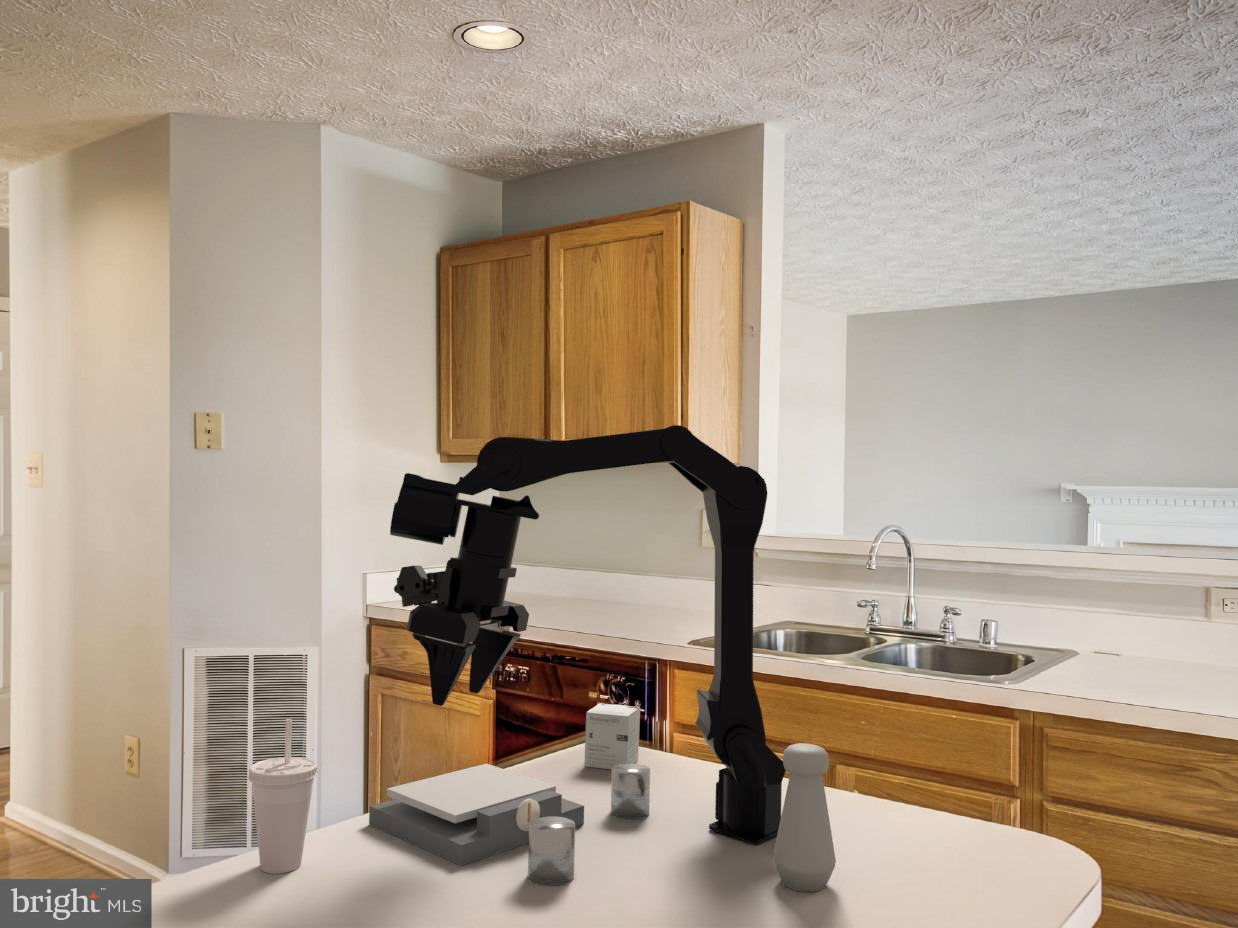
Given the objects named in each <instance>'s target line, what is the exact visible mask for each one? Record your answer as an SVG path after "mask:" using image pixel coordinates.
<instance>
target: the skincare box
mask: <svg viewBox="0 0 1238 928" xmlns="http://www.w3.org/2000/svg"><path fill="white" fill-rule="evenodd" d="M585 716H586V717H585V739H584V740H585V742H584V743H585V744H584V764H583V765H584V767H587V768H597V769H603V770H612V767H614V766H616V765H619V764H636V762H637V761H638V760H639V751H640V750H639V749H640V747H639V745H640V724H641V723H640V722H641V721H640V719H641V707H640V706H631V705H623V704H612V703H611V704H609V703H601V702H600V703H598V704H596V705H595V706H594V707H592V708H590V709H588V711H586V715H585Z"/></svg>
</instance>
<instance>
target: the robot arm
mask: <svg viewBox="0 0 1238 928" xmlns="http://www.w3.org/2000/svg"><path fill="white" fill-rule="evenodd" d="M476 459H477V460H476V466H475V467H473V468H472V469H471V470H470V471H469V472H467V473H466V474H465V475H464V476H459V478H458V479H459V480H458V481H457V483H450V482H445V481H439V480H435V479H431V478H427V477H424V476H422V475H418V474H415V473H410V472H407V473H405V474H404V475H403V480H402V485H401V487H400V489H399V490H400V491H399V494H398V496H397V497H398V498H397V499H396V500H397V501H395V502H394V505H393V510H392V515H391V521H390V529H389V530H390V531H389V534H390V536H394V537H399V538H403V539H404V538H405V539H410V540H415V541H419V542H425V543H430V544H436V545H440V546H443V545H444V543H445V539H446V538H448V539H449V537H450V538H456V535H457V533H458V529H459V523H460V518H461V513H462V508H463V507H467V511H466V516H465V520H464V525H463V530H462V534H461V535H462V536H461V540H460V545H459V550H458V555H457V556H456V557H450V558H449V559H448V560H447V562H446V566H445V570H444V571H443V570H442V571H435V572H427V573H426V571H425V569H424V567H423V566H422V565H420V564H419V565H417V564H416V565H409V566H401V569H400V572H399V575H398V577H396V584H395V585H394V587H393V591H394V592H395V594H398V596H400V597H401V604H402V608H404V607H406V608H407V607H412V606H414V607H415V608H413V609H411V610H410V612H409V616H408V621H407V625H406V631H407V632H409V633H411V634H412V637H413V639H414V640H415V641H418V642H419V643H420V645H421V647H423V649H424V650H425V652H426V654H427V655H426V656H427V661H428V668H429V670H428V671H429V677H430V678H429V679H430V689H431V699H432V701H431V702H432V705H435V706H438V707H442V706H444V705H445V703H446V702H447V701H448V698H449V697H450V695H451V693H452V691H453V690H454V688H455V686H456V684H457V682H458V680H459V678H460V676H461V674H462V672H463V671H464V669H465V667H466V665H467V663H468V662H469V659H470V667H469V685H468V691H469V692H470V693H473V694H480V693H481V691H482V690H483V688H484V687H485V685H486V684H487V682H488V681H489V679H490V678H491V676H492V675H493V674H494V672H495V671H496V669H497V667H498V666H499V664H501V662H502V661H503V660H504V658H505V657H506V655H507V654H508V653H509V651H510V650H511V649H512V647H513V646H514V644H515V643H516V642H517V640H518V639H520V638H521V635H522V634H521V633H522V632H525V631H526V630H527V628H528V623H529V617H530V613H529V612H528V611H527V609H526V607H525V606H524V604H521V603H516V602H512V601H508V600H505V598H506V595H507V594H506V593H507V588H508V582H509V579H510V578H516V575H517V567H514V566H513V567H512V563H513V557H514V554H515V549H516V544H517V543H516V542H517V539H518V535H519V529H520V524H521V519H522V518H525V519H529V520H533V521H534V520H538V519H539V518H540V514H539V513H538V512H537V510H536V509H535V507H534V506H533V504H532V502H531V497H530V496H529V495H527V494H526V495H524V496H523V497H522V498H521V499H519V500H517V499H512V498H507V497H502V496H497V495H492V497H491V502H490V504H488V503H487V504H486V503H481V502H477V501H470V500H468V499H460V498H459V497H460V494H463V495H469V496H475V495H477V494H480V493H483V492H485V491H488V490H489V489H492V490H495V491H497V492H511V491H515V490H518V489H522V488H525V487H528V486H531V485H535V484H539V483H541V482H544V481H547V480H551V479H555V478H557V477H561V476H563V475H564V476H565V475H567V474H574V473H580V472H581V473H582V472H583V473H584V472H590V471H597V470H598V471H599V470H608V469H614V468H615V469H616V468H623V467H630V466H631V467H632V466H639V465H646V464H647V465H648V464H649V465H650V464H656V463H664V462H665V463H667V464H669V466H671V467H673V469H675V470H676V471H677V473H679V474H680V475H681V476H682V477H683V478H684V479H685V480H686V481H688V482H689V483H690V484H691V485H692V486H694V487H695V488H696V489H697V490H699V491H700V492H701V493H702V496H703V502H704V508H705V509H704V510H705V514H706V521H707V524H708V527H709V531H710V535H711V538H712V542H713V546H714V630H713V631H714V633H713V634H714V636H713V637H714V640H713V641H714V642H713V643H714V645H713V646H714V651H713V653H714V655H713V656H714V658H713V660H714V661H713V668H714V669H713V676H712V680H711V683H710V685H709V689H708V690H705V689H704V690H703V689H697V690H696V698H697V704H698V714H697V715H698V716H697V718H696V721H695V725H696V726H697V728H698V729H699V731H700V732H701V733H702V738H703V740H704V741H705V743H706V744H707V745H708V746H709V748H710V749H711V751H712V752H713V753H714V754H715V756H716V757H717V758H718V760H720V762H721V763H722V764H723V765H724V766H725V768H722V769H719V770H718V781H717V782H716V783H715V808H714V809H715V813H714V817H715V820H716V821H714V822H711V823H709V824H708V829H709V830H710V831H713V832H716V833H719V834H723V835H726V836H729V837H732V838H735V839H738V840H742V841H745V842H748V843H750V844H757V845H758V844H761V843H764V842H765V841H767V840H770V839H772V838H774V837H777V834H778V829H779V825H780V820H781V815H782V785H783V784H782V783H783V779H784V776H785V775H786V772H787V771H786V770H785V768H784V765H783V759H781V758H780V757H779V756H778V755H777V754H776V753H775V752H774V751H773V749H771V748H770V747H769V746H768V745H767V737H766V730H765V724H764V719H763V712H762V707H761V704H760V701H759V697H758V693H757V690H756V686H755V682H754V562H755V561H754V558H755V557H754V551H755V547H756V544H757V541H758V538H759V534H760V532H761V529H762V526H763V523H764V516H765V511H766V506H767V500H768V487H767V483H766V481H765V478H764V477H763V476H761V474H760V473H759V471H757V470H755V469H753V468H751V467H749V466H745V465H735V463H733V462H732V461H731V460H729V459H728V458H727V457H726V456H724V455H722V454H721V453H720V452H718V451H717V450H715V449H713V448H712V447H711V446H709V445H707V444H706V443H705V442H703V441H702V440H701V439H700V438H698V437H697V436H695V435H694V434H693V432H692V431H691V430H689V429H688V428H687V427H686V426H683V425H681V424H680V425H679V424H673V425H670V426H666V427H664V428H660V429H659V428H658V429H652V430H651V429H650V430H649V429H648V430H642V431H631V432H626V433H625V432H624V433H617V434H609V435H607V434H606V435H600V436H592V437H583V438H582V437H581V438H576V439H575V438H574V439H566V440H559V439H545V438H544V439H543V438H532V437H531V438H530V437H529V438H528V437H515V436H513V437H512V436H498V437H496V438H491V440H489V441H487V442H486V443H485V444H484V445H483V447H482V448H481V449H480V450H479V454H478V455H477V457H476ZM511 628H512V631H510V630H511ZM520 632H521V633H520Z"/></svg>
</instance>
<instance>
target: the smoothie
mask: <svg viewBox="0 0 1238 928" xmlns="http://www.w3.org/2000/svg"><path fill="white" fill-rule="evenodd" d="M292 723H293V721H292V718H286V719H285V734H284V735H285V736H284V738H285V741H284V757H283V756H282V757H273V758H269V759H268V758H267V759H263V760H260V761H258V762H255V763H254V764H252V765H250V766H249V769H248V776H247V779H248V781H249V782H251V785H252V796H253V797H252V799H253V805H254V816H255V826H256V836H257V847H258V855H259V865H260V866H259V867H260V871H261V872H263V873H267V874H273V875H274V874H277V875H278V874H284V873H286V874H287V873H290V872H293V871H295V870H297V869H299V868H300V867H301V865H302V859H303V853H304V846H305V840H306V832H307V825H308V820H309V812H310V807H311V799H312V792H313V788H314V787H313V785H314V779H315V777H317V776H318V762H316V761H315V760H313V759H311V758H307V757H300V756H299V757H298V756H292V731H293V729H292V728H293V727H292V725H293V724H292Z"/></svg>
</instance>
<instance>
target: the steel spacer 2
mask: <svg viewBox="0 0 1238 928" xmlns="http://www.w3.org/2000/svg"><path fill="white" fill-rule="evenodd" d="M610 786H611V787H610V790H611V791H610V814H611V816H613V817H615V818H618V819H622V820H630V821H631V820H633V821H634V820H641V819H645V818H647V817H648V816H649V815H650V802H651V801H650V800H651V799H650V794H651V793H650V792H651V769H650V767H649V766H647V765H644V764H639V763H634V764H619V765H616V766H614V767H612V769H611V785H610Z"/></svg>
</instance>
